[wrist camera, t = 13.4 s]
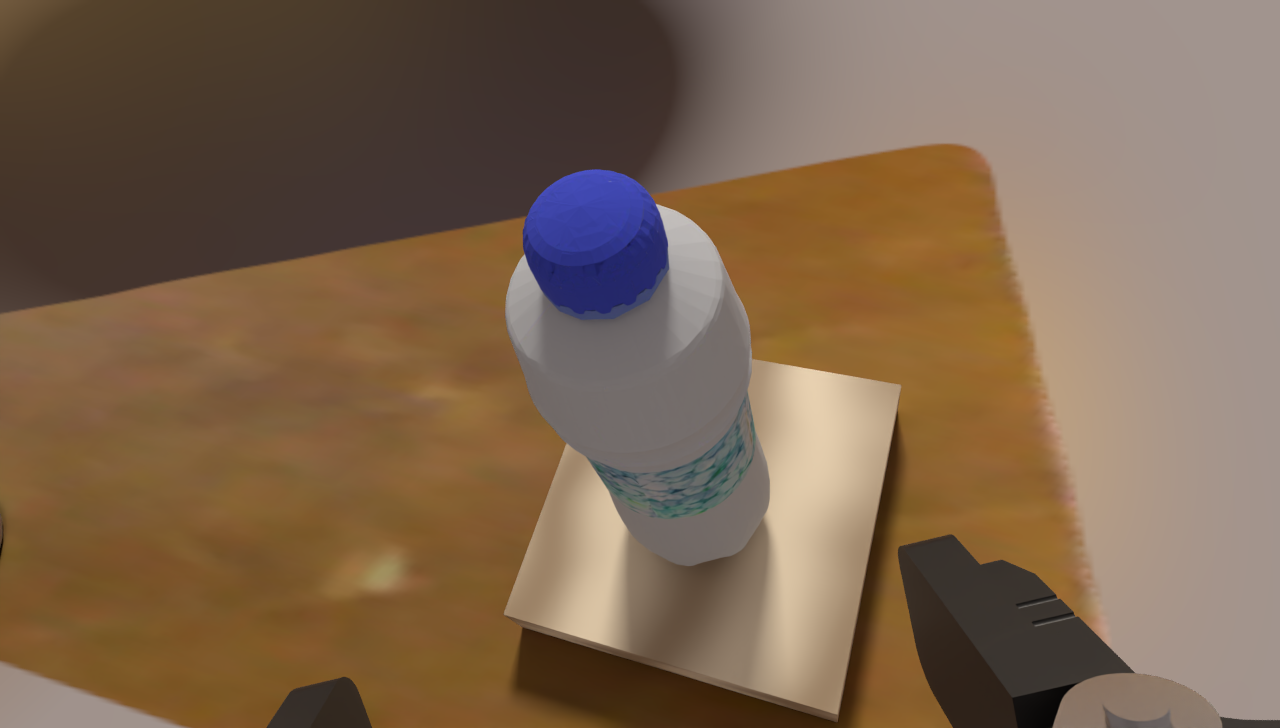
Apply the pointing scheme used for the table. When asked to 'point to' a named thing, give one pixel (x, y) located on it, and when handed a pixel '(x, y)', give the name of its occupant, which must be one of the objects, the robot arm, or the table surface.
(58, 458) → the table surface
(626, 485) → the bottle
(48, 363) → the table surface
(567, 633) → the birch stand
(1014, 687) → the robot arm
